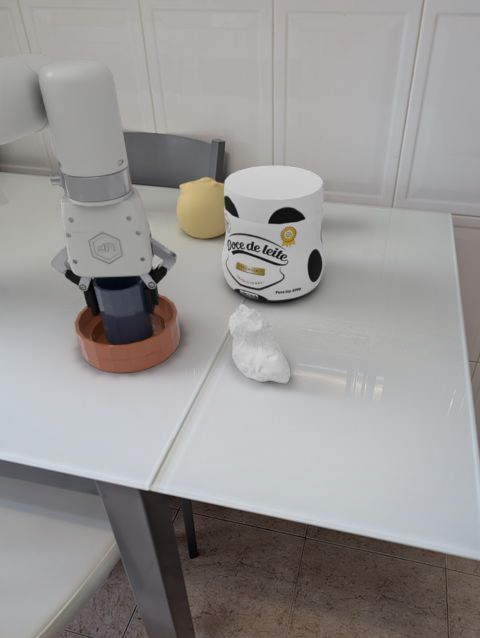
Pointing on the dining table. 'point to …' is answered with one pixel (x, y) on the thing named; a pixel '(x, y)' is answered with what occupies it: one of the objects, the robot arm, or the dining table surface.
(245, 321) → the bust
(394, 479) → the dining table surface
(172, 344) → the bowl
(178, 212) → the sculpture
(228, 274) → the white doce de leite
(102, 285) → the cup
